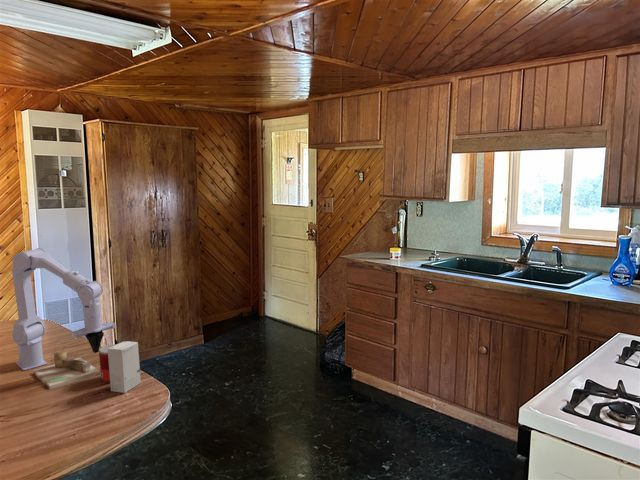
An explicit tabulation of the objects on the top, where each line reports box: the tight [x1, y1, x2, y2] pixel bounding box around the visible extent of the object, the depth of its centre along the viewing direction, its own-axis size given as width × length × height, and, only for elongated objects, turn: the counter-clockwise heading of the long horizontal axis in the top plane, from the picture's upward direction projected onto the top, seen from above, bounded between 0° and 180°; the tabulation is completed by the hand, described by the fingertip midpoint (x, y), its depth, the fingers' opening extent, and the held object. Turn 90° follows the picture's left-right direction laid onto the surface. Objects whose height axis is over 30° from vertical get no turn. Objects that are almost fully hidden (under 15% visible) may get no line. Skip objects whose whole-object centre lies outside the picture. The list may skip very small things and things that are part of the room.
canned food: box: [98, 343, 117, 384], centre depth 162 cm, size 8×8×11 cm
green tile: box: [50, 376, 67, 382], centre depth 160 cm, size 5×3×1 cm, turn 114°
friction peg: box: [53, 349, 91, 372], centre depth 168 cm, size 15×4×5 cm, turn 68°
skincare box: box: [108, 340, 142, 394], centre depth 155 cm, size 8×6×15 cm
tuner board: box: [33, 356, 101, 390], centre depth 167 cm, size 18×16×1 cm
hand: (95, 351), depth 170 cm, fingers closed
